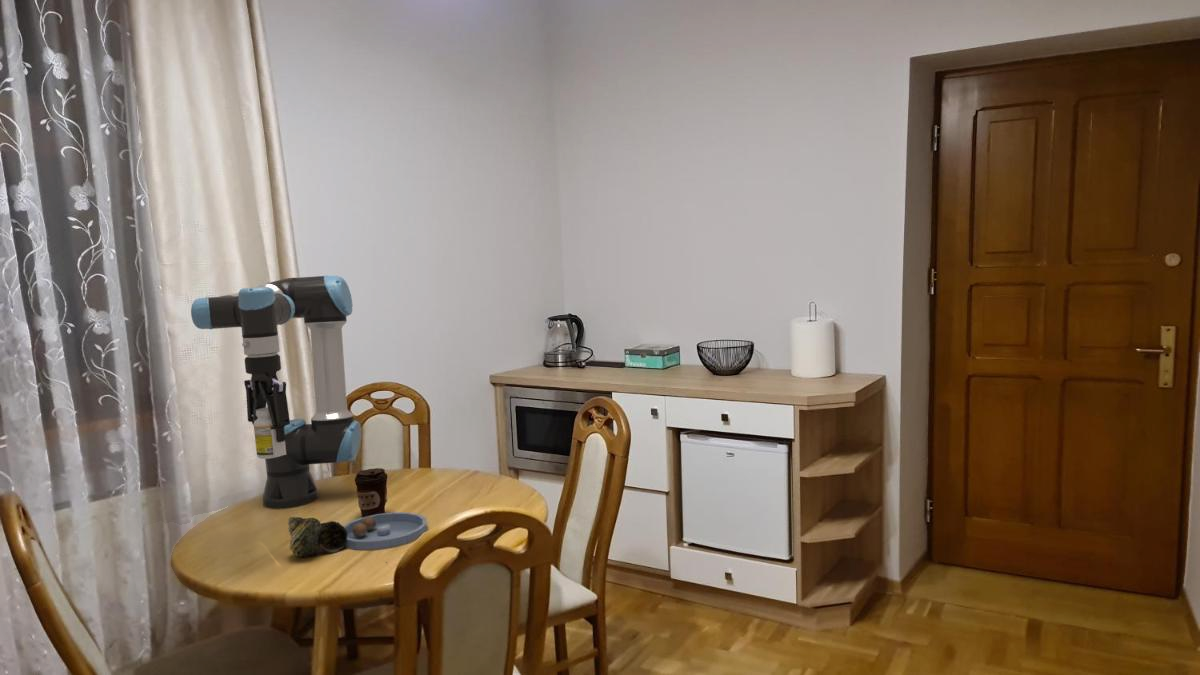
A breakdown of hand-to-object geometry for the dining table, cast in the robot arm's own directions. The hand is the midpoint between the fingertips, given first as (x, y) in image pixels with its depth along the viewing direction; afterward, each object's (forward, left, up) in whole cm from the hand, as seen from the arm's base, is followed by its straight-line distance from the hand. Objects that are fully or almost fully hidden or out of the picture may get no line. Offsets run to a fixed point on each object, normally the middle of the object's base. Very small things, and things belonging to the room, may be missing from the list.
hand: (271, 453), depth 184 cm
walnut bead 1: (+2, +18, -24) cm, 30 cm away
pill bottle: (0, 0, -1) cm, 1 cm away
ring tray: (+3, +23, -25) cm, 34 cm away
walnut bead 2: (-2, +22, -24) cm, 32 cm away
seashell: (+6, +7, -25) cm, 27 cm away
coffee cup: (-13, +26, -25) cm, 39 cm away
